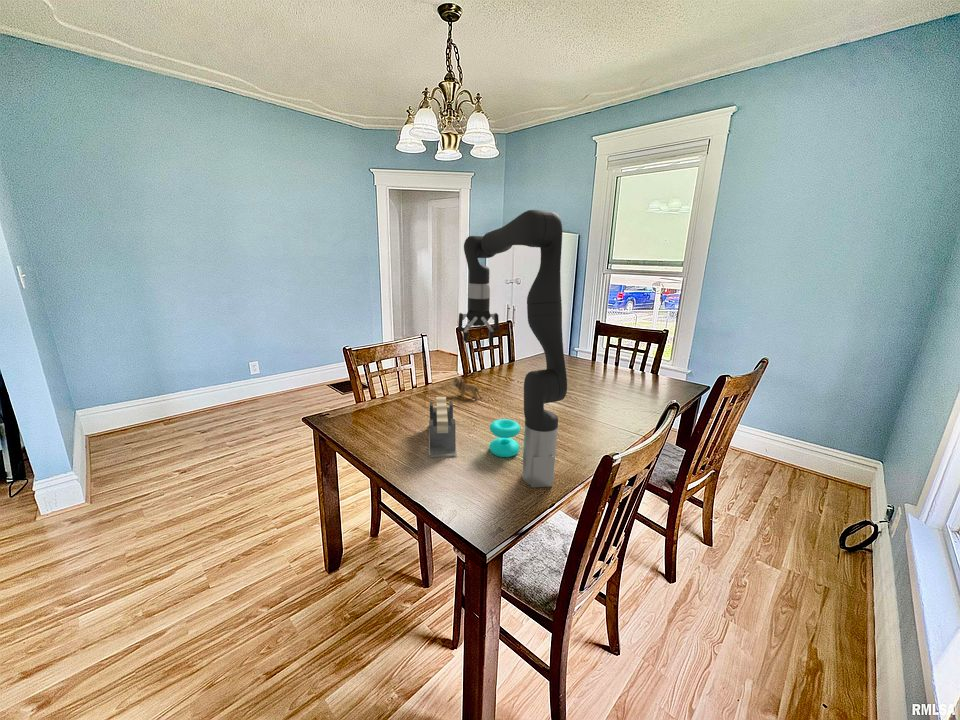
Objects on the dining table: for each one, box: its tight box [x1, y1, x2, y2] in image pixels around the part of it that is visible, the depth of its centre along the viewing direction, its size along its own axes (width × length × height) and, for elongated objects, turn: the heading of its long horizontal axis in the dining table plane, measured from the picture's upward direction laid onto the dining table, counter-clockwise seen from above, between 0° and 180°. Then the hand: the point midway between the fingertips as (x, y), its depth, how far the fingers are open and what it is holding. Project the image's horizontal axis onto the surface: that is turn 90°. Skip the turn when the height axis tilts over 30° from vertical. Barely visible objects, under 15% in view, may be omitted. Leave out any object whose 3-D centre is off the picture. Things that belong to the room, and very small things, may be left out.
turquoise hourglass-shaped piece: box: [488, 418, 521, 458], centre depth 127 cm, size 10×10×10 cm
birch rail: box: [435, 396, 448, 433], centre depth 132 cm, size 22×4×4 cm, turn 7°
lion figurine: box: [452, 376, 484, 401], centre depth 175 cm, size 15×5×9 cm, turn 67°
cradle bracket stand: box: [428, 400, 458, 458], centre depth 134 cm, size 24×9×10 cm, turn 7°
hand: (478, 342), depth 137 cm, fingers open, 8 cm apart
